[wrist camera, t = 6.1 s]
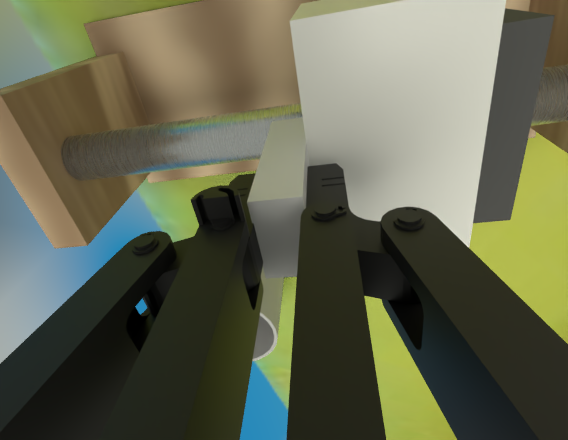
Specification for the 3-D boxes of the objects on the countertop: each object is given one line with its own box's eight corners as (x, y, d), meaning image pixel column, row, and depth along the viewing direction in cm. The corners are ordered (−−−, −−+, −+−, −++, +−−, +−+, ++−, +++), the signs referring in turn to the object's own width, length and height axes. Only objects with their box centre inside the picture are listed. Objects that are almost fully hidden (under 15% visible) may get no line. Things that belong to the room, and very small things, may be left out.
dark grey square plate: (417, 153, 22) (460, 224, 15) (424, 10, 18) (485, 26, 11) (452, 149, 21) (510, 219, 15) (467, 2, 17) (554, 14, 11)
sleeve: (321, 173, 24) (323, 273, 16) (301, 3, 19) (289, 20, 11) (413, 163, 23) (466, 263, 15) (419, -19, 18) (509, -19, 10)
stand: (153, 177, 31) (72, 275, 21) (91, 22, 25) (-72, 51, 14) (527, 132, 27) (663, 228, 16) (571, -72, 20) (844, -129, 10)
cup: (286, 288, 37) (278, 364, 30) (192, 285, 38) (163, 358, 31) (284, 232, 33) (276, 304, 26) (180, 230, 34) (142, 298, 27)
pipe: (87, 172, 21) (59, 197, 19) (64, 126, 20) (29, 145, 17) (612, 106, 17) (660, 127, 15) (634, 40, 16) (692, 51, 13)
